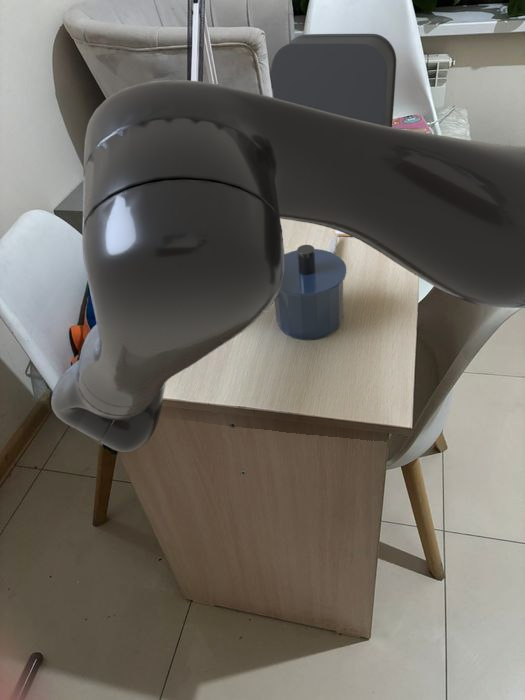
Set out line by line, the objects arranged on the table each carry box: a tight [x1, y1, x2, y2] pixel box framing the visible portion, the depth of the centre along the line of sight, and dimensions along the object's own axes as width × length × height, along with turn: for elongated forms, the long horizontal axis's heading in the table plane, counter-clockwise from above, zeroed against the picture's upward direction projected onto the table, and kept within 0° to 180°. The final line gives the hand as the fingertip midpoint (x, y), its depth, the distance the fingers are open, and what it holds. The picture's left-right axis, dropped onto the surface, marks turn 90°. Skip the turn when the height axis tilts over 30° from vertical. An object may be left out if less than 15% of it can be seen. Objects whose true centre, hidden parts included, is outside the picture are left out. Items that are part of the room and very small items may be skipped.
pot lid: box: [280, 244, 347, 297], centre depth 73 cm, size 11×11×5 cm
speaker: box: [271, 33, 397, 127], centre depth 112 cm, size 25×9×25 cm, turn 65°
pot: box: [273, 281, 344, 341], centre depth 77 cm, size 10×10×8 cm
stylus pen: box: [325, 234, 339, 255], centre depth 90 cm, size 15×3×2 cm, turn 162°
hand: (221, 233), depth 74 cm, fingers closed on pill bottle, 5 cm apart
